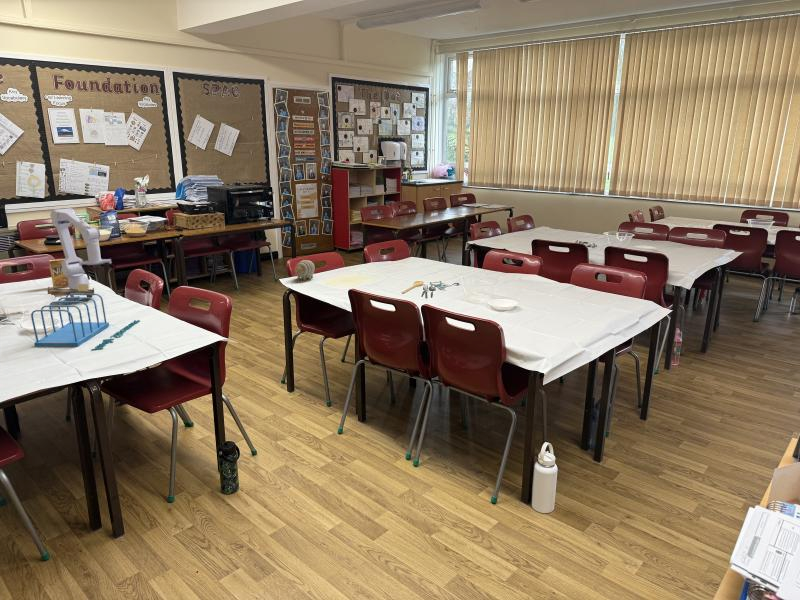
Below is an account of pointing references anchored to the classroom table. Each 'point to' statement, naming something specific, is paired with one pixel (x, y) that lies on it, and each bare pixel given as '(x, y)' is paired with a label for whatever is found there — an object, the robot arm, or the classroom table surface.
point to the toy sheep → (305, 269)
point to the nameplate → (115, 336)
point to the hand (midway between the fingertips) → (97, 278)
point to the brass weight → (82, 287)
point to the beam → (68, 292)
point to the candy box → (58, 274)
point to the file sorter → (70, 325)
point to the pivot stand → (73, 299)
